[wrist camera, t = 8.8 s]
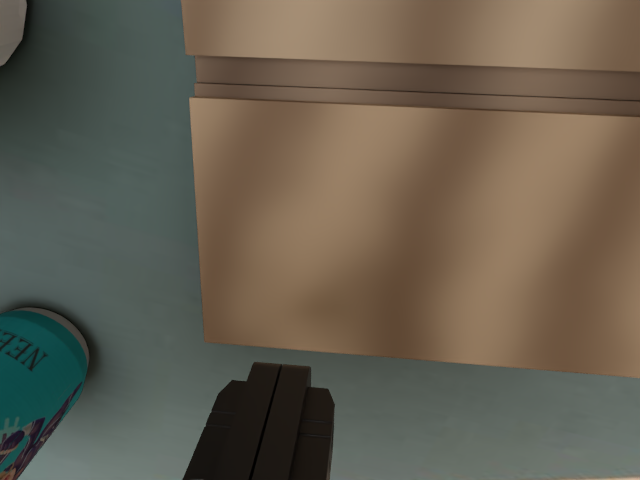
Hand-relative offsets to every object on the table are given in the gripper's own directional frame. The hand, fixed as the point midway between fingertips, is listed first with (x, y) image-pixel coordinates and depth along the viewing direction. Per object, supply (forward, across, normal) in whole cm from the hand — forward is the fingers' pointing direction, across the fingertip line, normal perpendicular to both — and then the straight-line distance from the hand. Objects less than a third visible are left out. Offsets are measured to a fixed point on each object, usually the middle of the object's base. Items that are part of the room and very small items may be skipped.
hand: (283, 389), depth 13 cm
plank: (+8, -4, -1) cm, 9 cm away
